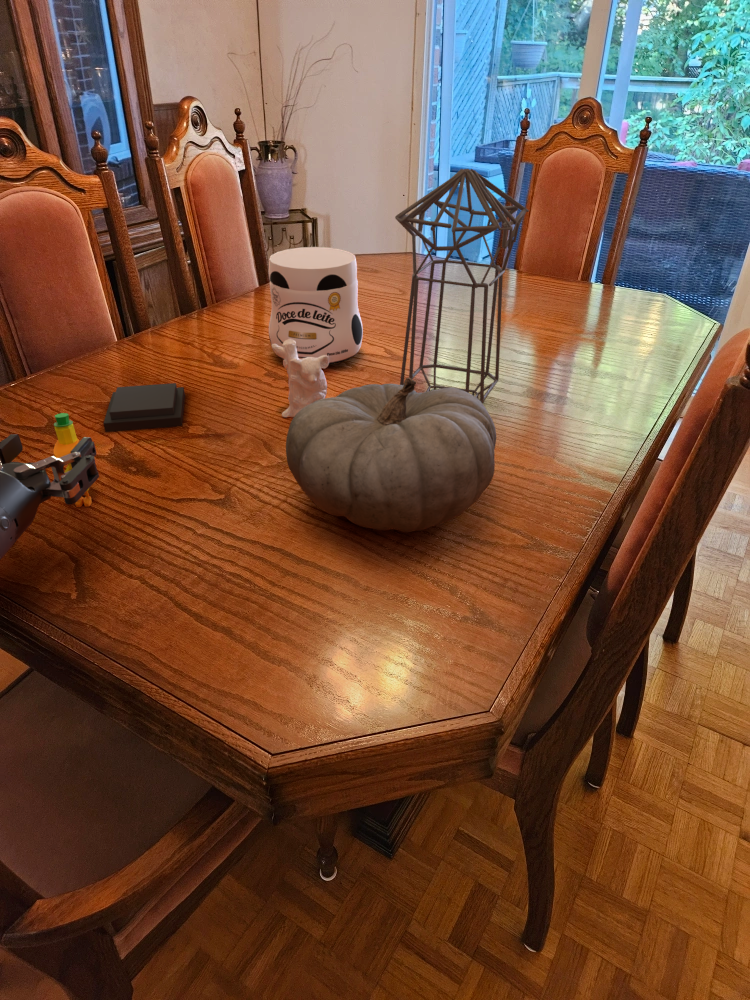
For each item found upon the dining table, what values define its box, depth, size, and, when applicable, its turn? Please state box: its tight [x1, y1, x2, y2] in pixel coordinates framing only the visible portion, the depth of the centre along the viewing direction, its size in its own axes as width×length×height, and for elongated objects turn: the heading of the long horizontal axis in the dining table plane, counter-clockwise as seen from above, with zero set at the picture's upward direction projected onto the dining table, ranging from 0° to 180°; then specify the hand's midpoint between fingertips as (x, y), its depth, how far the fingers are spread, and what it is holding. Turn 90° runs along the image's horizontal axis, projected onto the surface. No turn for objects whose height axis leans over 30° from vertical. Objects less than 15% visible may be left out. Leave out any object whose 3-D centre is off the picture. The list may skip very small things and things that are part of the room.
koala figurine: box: [271, 339, 330, 418], centre depth 102 cm, size 8×7×12 cm
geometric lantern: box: [394, 168, 530, 404], centre depth 97 cm, size 16×16×35 cm
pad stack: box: [102, 382, 186, 433], centre depth 103 cm, size 11×11×4 cm
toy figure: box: [53, 412, 93, 508], centre depth 81 cm, size 7×4×12 cm, turn 10°
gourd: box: [285, 377, 497, 533], centre depth 80 cm, size 25×25×17 cm
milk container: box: [268, 246, 364, 366], centre depth 120 cm, size 17×17×18 cm
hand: (54, 442), depth 76 cm, fingers open, 8 cm apart
